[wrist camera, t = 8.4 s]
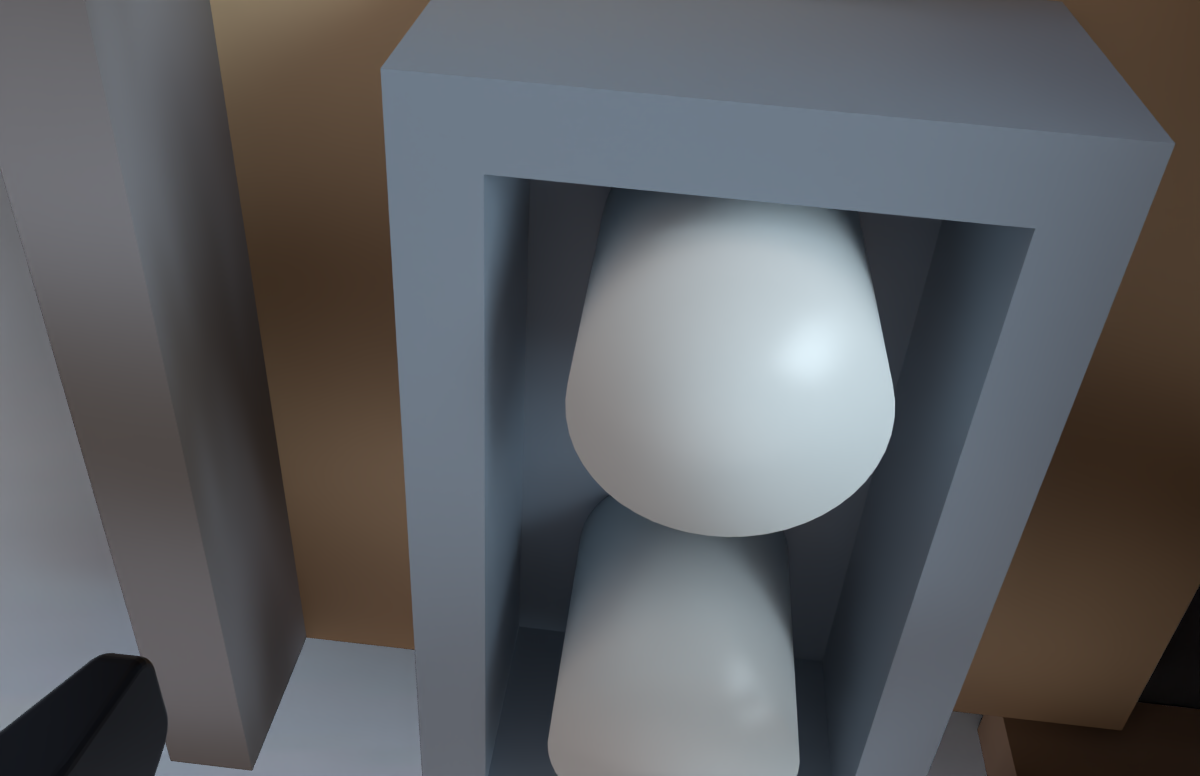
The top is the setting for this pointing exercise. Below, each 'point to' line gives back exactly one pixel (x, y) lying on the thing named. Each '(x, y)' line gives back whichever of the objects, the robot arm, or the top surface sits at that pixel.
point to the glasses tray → (768, 130)
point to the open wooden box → (1095, 745)
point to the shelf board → (370, 365)
